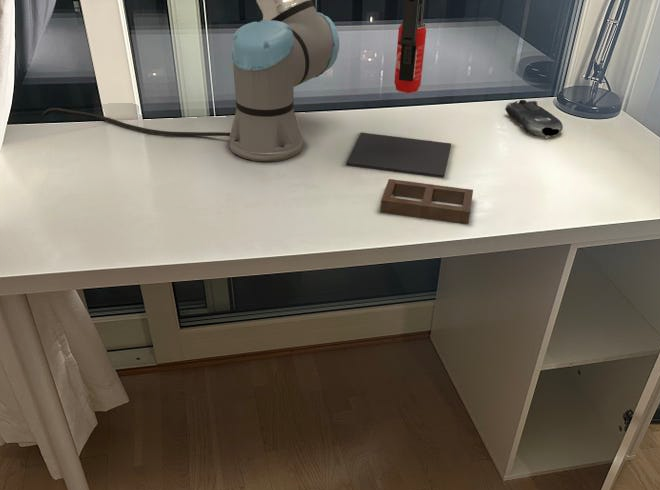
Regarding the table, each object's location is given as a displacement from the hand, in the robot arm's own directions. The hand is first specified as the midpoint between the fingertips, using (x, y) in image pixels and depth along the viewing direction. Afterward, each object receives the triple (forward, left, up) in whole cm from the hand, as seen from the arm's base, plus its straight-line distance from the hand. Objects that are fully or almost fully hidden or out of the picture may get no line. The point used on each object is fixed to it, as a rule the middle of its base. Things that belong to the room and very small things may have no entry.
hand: (408, 74), depth 137 cm
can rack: (+8, -21, -17) cm, 28 cm away
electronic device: (+28, +25, -17) cm, 41 cm away
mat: (0, 0, -17) cm, 17 cm away
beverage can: (0, 0, -3) cm, 3 cm away
